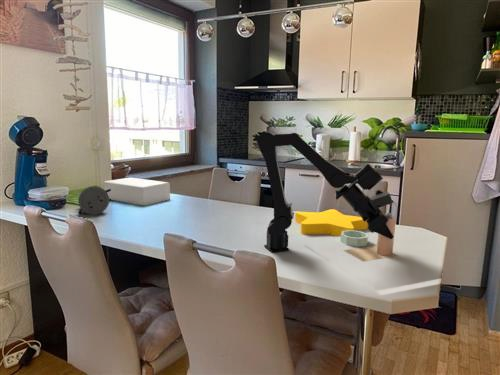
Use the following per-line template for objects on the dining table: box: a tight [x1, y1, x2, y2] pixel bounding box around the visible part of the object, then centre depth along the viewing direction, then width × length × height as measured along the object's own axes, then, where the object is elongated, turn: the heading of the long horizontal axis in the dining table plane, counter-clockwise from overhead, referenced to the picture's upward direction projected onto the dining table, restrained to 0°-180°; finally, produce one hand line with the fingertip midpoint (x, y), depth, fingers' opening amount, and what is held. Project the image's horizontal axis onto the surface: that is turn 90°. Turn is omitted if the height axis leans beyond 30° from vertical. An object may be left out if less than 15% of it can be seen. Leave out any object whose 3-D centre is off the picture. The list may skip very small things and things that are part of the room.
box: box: [103, 177, 171, 206], centre depth 195 cm, size 19×30×10 cm, turn 59°
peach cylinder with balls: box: [376, 212, 397, 256], centre depth 115 cm, size 5×5×13 cm
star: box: [294, 208, 368, 237], centre depth 147 cm, size 30×4×29 cm
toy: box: [77, 185, 111, 215], centre depth 165 cm, size 17×13×30 cm
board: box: [343, 245, 399, 262], centre depth 116 cm, size 14×10×1 cm
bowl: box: [339, 230, 369, 248], centre depth 127 cm, size 9×9×4 cm
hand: (390, 235), depth 115 cm, fingers closed on peach cylinder with balls, 5 cm apart
